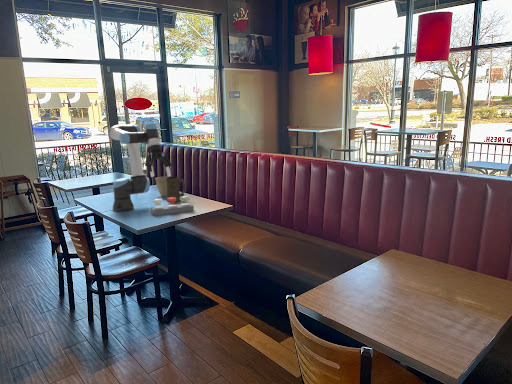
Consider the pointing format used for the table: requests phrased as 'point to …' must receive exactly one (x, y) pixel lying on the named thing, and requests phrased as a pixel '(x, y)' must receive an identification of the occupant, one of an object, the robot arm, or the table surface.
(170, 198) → the red button
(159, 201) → the white button
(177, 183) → the beer stein
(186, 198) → the green button
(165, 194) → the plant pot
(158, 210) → the button panel
